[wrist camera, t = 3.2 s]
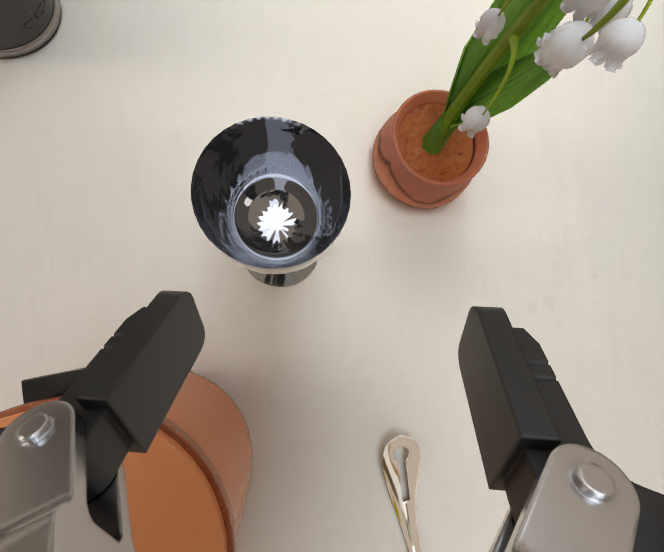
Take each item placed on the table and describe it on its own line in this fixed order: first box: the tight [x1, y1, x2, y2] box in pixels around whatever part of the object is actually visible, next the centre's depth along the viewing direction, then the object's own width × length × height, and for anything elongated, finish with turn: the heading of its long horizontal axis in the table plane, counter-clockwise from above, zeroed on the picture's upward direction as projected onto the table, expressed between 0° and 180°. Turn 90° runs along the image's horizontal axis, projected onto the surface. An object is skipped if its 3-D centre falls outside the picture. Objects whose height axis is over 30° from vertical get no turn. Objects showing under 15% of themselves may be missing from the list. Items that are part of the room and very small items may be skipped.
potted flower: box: [373, 0, 653, 208], centre depth 22 cm, size 12×10×25 cm
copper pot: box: [0, 368, 252, 552], centre depth 21 cm, size 17×19×15 cm
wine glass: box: [191, 117, 351, 287], centre depth 24 cm, size 8×8×15 cm
